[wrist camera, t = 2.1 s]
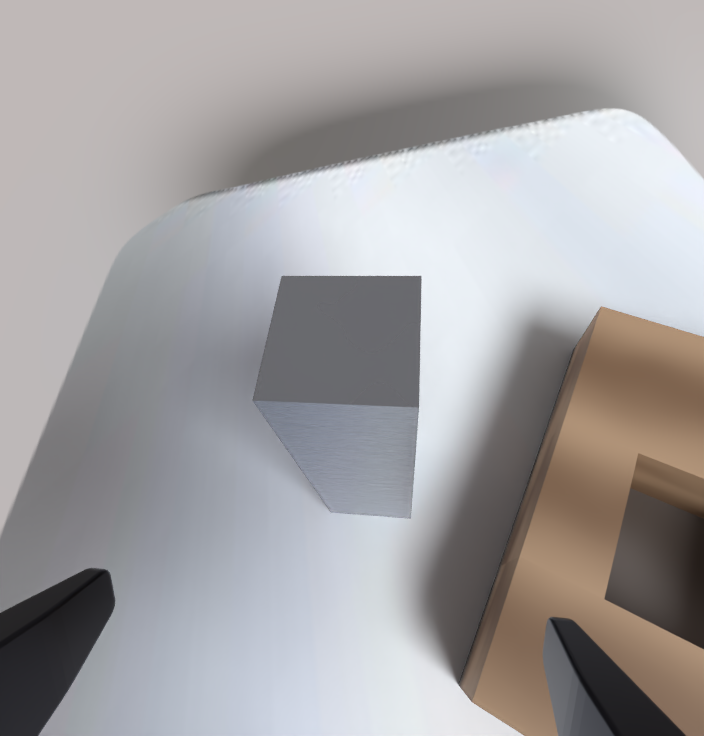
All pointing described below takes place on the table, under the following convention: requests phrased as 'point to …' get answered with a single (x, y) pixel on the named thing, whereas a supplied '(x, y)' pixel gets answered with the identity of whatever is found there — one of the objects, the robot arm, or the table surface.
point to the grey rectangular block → (347, 387)
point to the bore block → (608, 530)
